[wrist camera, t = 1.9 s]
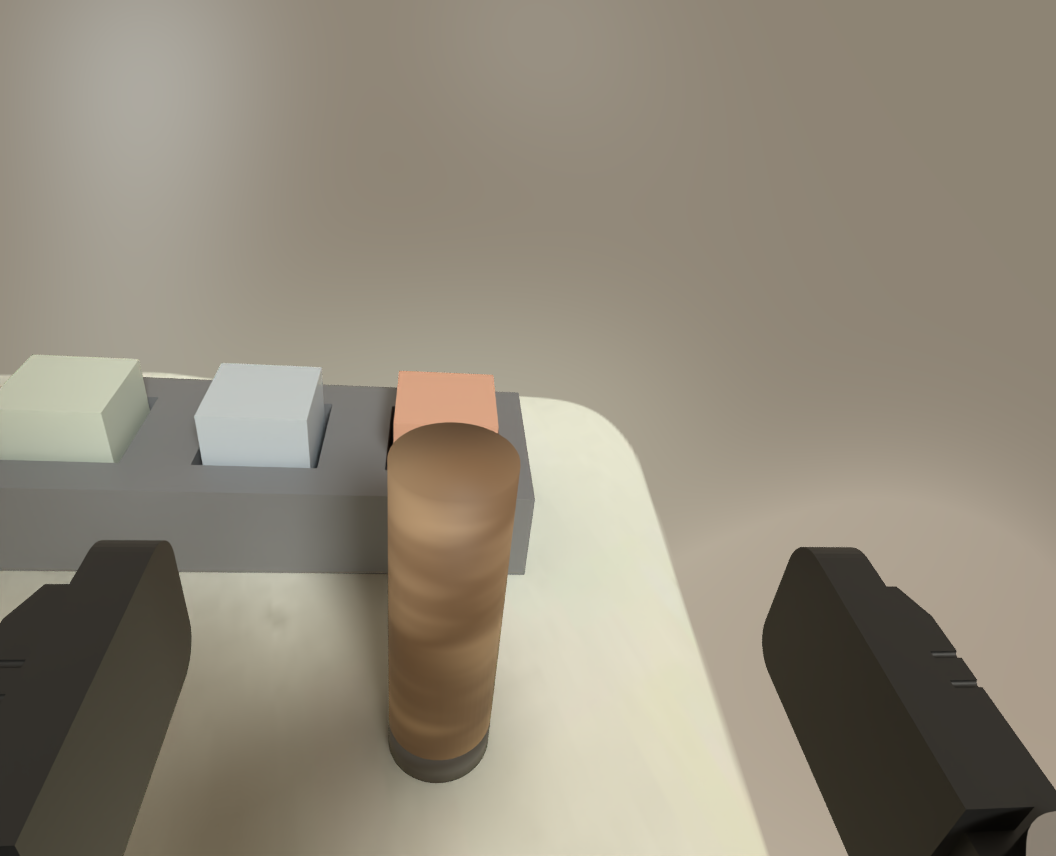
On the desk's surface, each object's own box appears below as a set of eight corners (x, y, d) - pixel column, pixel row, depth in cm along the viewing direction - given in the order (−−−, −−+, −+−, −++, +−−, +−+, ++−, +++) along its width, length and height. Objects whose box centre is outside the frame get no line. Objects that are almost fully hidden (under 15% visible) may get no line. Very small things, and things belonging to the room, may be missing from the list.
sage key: (9, 488, 35) (-20, 408, 33) (55, 429, 39) (32, 354, 37) (120, 490, 36) (100, 412, 33) (154, 432, 40) (138, 359, 37)
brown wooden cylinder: (385, 784, 28) (382, 500, 20) (391, 694, 31) (391, 420, 24) (490, 781, 29) (526, 503, 21) (485, 692, 32) (515, 424, 24)
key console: (-40, 569, 35) (-77, 486, 32) (52, 447, 43) (29, 372, 40) (524, 574, 38) (534, 499, 35) (510, 461, 46) (518, 392, 43)
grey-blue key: (207, 492, 36) (194, 416, 34) (231, 434, 40) (221, 362, 38) (312, 495, 37) (306, 420, 34) (325, 437, 41) (321, 367, 39)
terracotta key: (393, 496, 37) (393, 423, 35) (398, 440, 42) (399, 370, 39) (491, 498, 38) (498, 426, 36) (487, 443, 42) (493, 375, 40)
